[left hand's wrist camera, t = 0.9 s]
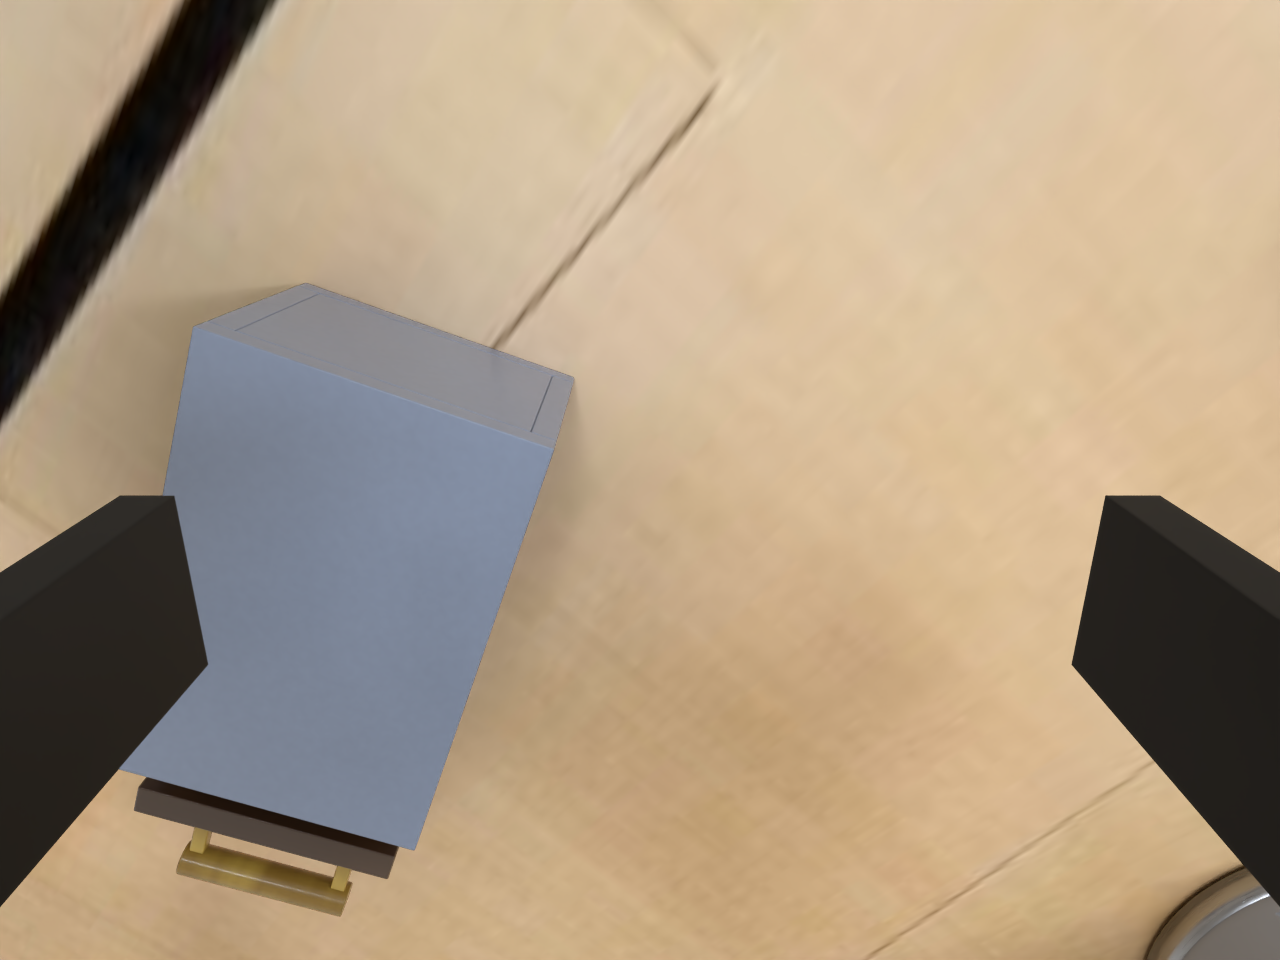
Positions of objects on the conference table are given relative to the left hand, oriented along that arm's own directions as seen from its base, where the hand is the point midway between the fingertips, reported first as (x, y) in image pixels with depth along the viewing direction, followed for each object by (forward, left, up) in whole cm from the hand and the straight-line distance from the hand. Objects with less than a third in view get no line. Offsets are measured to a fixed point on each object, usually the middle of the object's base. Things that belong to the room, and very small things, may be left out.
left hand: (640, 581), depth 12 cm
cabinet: (+6, -12, -23) cm, 27 cm away
